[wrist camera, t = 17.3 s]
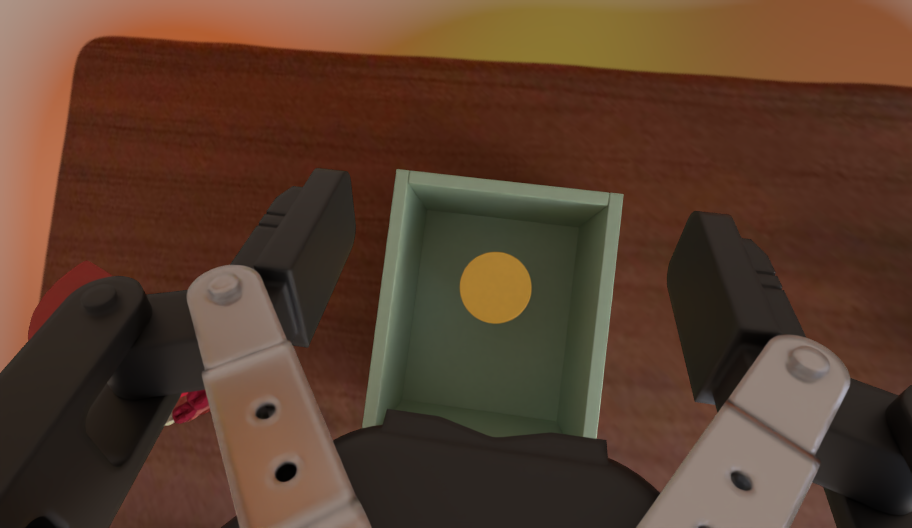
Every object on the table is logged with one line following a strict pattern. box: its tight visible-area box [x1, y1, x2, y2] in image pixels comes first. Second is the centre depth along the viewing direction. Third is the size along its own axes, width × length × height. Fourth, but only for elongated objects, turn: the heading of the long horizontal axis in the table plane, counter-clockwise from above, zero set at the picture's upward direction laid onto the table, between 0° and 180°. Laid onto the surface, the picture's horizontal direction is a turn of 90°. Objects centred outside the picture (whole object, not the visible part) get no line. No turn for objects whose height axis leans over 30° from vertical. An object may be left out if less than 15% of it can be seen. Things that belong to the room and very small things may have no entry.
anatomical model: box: [28, 260, 210, 426], centre depth 37 cm, size 10×8×15 cm
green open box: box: [362, 169, 623, 439], centre depth 36 cm, size 17×14×11 cm
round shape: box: [460, 252, 532, 324], centre depth 36 cm, size 4×4×9 cm
